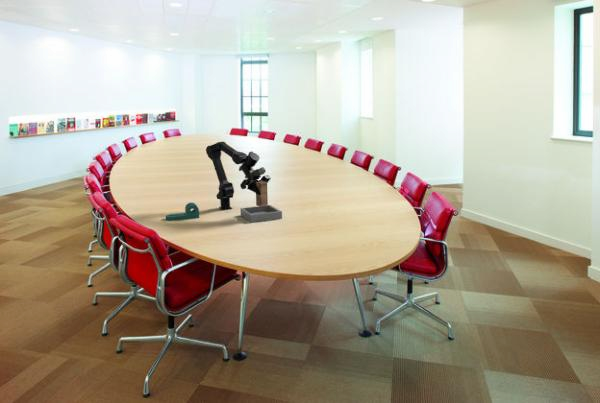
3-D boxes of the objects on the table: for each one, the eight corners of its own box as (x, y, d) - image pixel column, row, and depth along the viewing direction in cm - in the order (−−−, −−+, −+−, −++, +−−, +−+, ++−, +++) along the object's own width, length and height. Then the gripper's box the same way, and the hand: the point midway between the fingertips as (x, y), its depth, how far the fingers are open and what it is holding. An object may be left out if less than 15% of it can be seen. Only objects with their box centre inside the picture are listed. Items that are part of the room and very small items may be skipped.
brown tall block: (256, 205, 268) (255, 182, 265) (262, 203, 271) (261, 181, 268) (261, 206, 265) (261, 183, 262) (267, 205, 268) (267, 182, 265)
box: (240, 215, 274) (240, 208, 273) (270, 211, 282) (269, 204, 281) (251, 222, 258) (250, 215, 258) (282, 218, 266) (281, 211, 265)
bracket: (197, 215, 276) (196, 202, 274) (199, 218, 270) (198, 204, 268) (165, 218, 270) (164, 204, 269) (166, 221, 264) (165, 207, 262)
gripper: (242, 164, 258) (257, 187, 254) (268, 161, 272) (282, 182, 267) (233, 177, 265) (248, 200, 261) (259, 173, 279) (272, 194, 274)
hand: (263, 194), depth 265 cm, fingers closed on brown tall block, 4 cm apart
